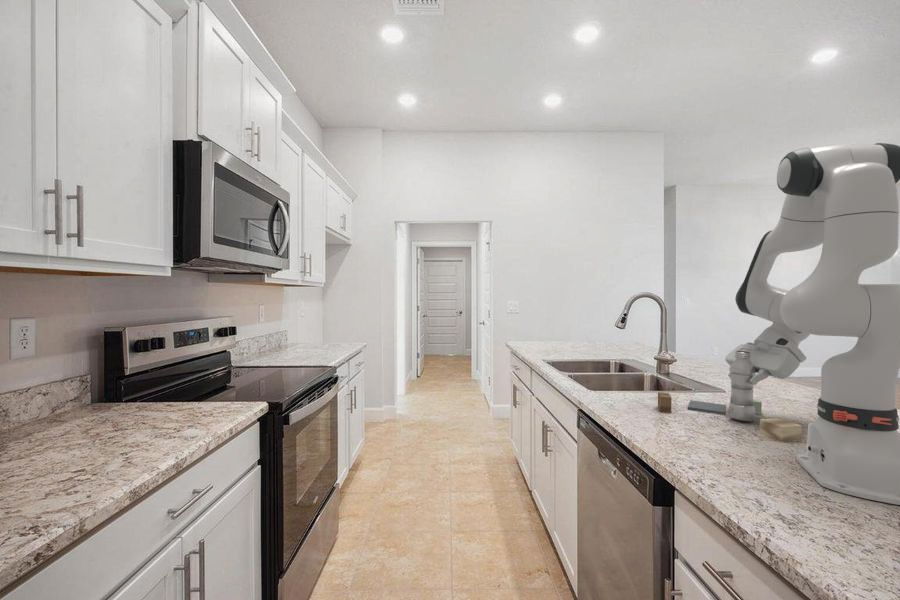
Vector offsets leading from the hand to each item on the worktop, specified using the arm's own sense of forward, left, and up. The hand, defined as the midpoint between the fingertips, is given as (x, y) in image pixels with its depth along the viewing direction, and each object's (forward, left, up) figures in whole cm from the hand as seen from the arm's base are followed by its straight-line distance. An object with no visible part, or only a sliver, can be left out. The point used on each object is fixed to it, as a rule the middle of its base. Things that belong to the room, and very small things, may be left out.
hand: (740, 380), depth 121 cm
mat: (+9, +8, -12) cm, 17 cm away
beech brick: (-11, -9, -12) cm, 18 cm away
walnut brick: (-1, +19, -12) cm, 23 cm away
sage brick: (+12, -4, -12) cm, 18 cm away
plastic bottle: (0, 0, -12) cm, 12 cm away
